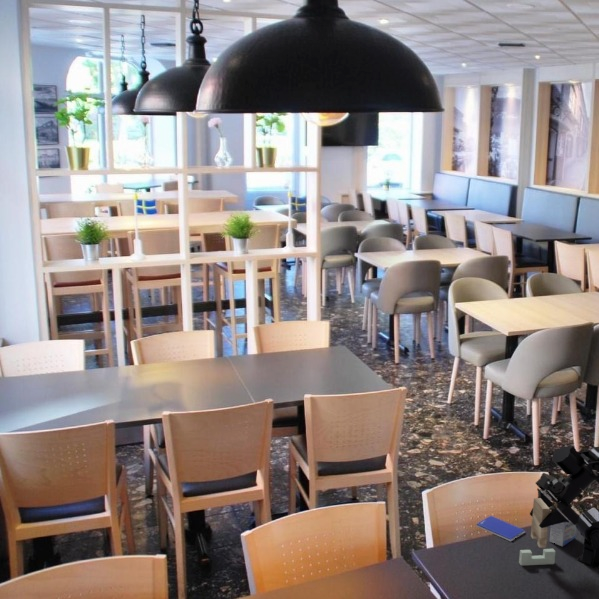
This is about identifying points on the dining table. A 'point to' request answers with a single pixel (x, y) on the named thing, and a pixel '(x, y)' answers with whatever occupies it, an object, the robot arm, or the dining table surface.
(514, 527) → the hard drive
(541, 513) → the birch plate
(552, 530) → the medicine box
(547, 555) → the pale green u-shaped block
